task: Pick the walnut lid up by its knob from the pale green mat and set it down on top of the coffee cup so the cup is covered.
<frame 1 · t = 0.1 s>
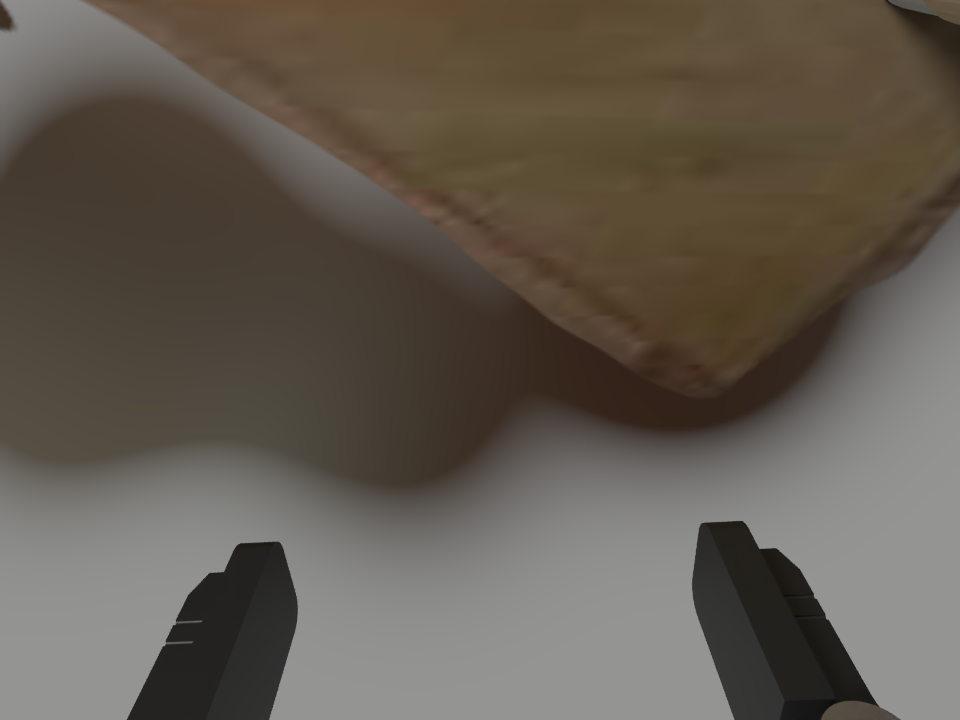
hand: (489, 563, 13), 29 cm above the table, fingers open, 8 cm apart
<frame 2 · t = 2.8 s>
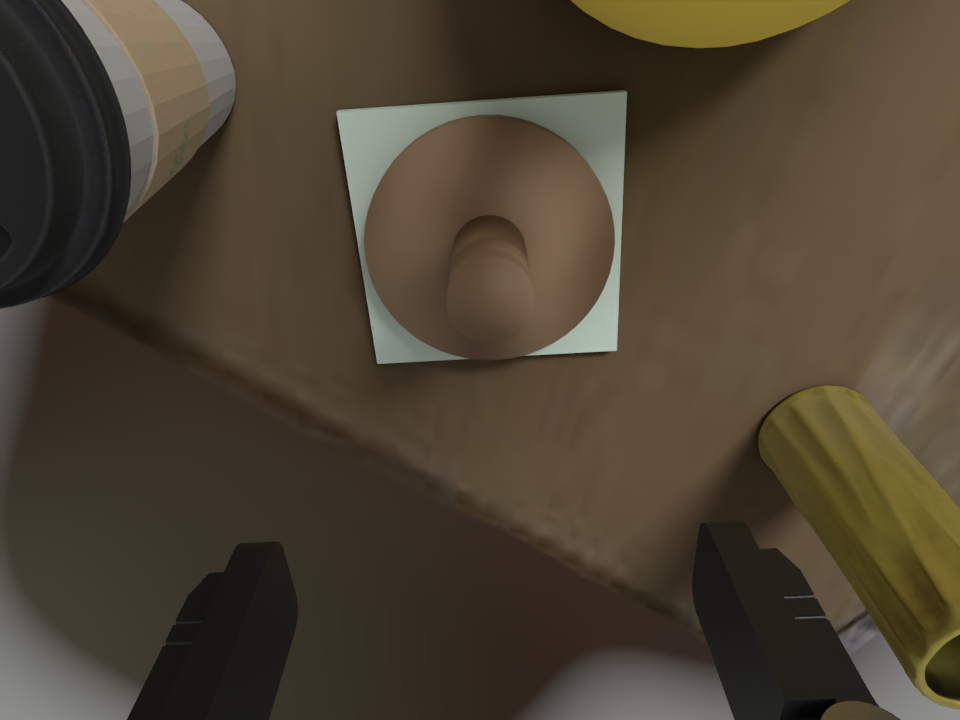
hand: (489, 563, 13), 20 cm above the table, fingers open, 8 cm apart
lid: (489, 242, 30), point 1 cm above the table, touching mat
mat: (489, 237, 30), on the table
coffee cup: (164, 69, 27), on the table
vase: (812, 429, 36), on the table
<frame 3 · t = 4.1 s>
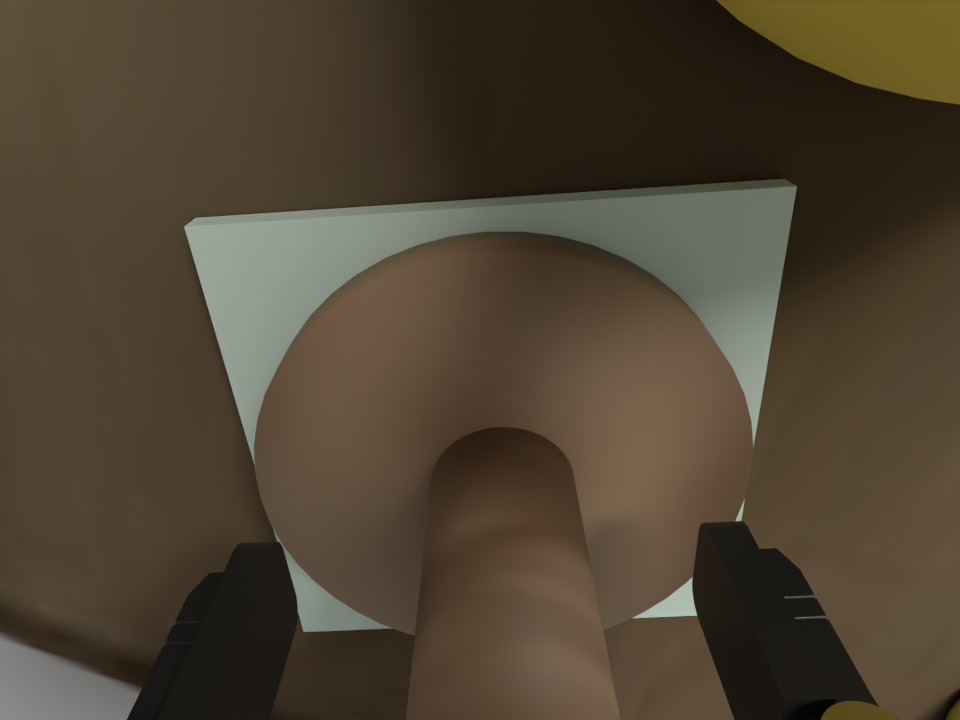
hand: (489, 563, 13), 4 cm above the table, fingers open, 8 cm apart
lid: (501, 453, 16), point 1 cm above the table, touching mat
mat: (500, 438, 16), on the table
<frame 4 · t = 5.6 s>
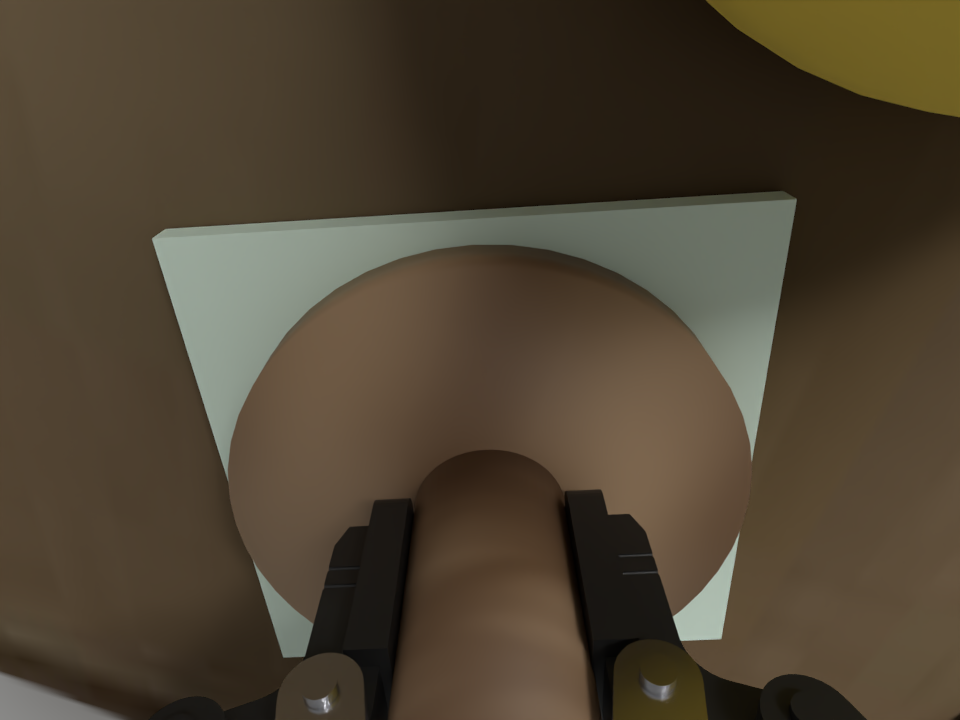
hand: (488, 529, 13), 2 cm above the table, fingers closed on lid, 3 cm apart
lid: (489, 474, 15), point 1 cm above the table, touching gripper, mat
mat: (487, 458, 15), on the table
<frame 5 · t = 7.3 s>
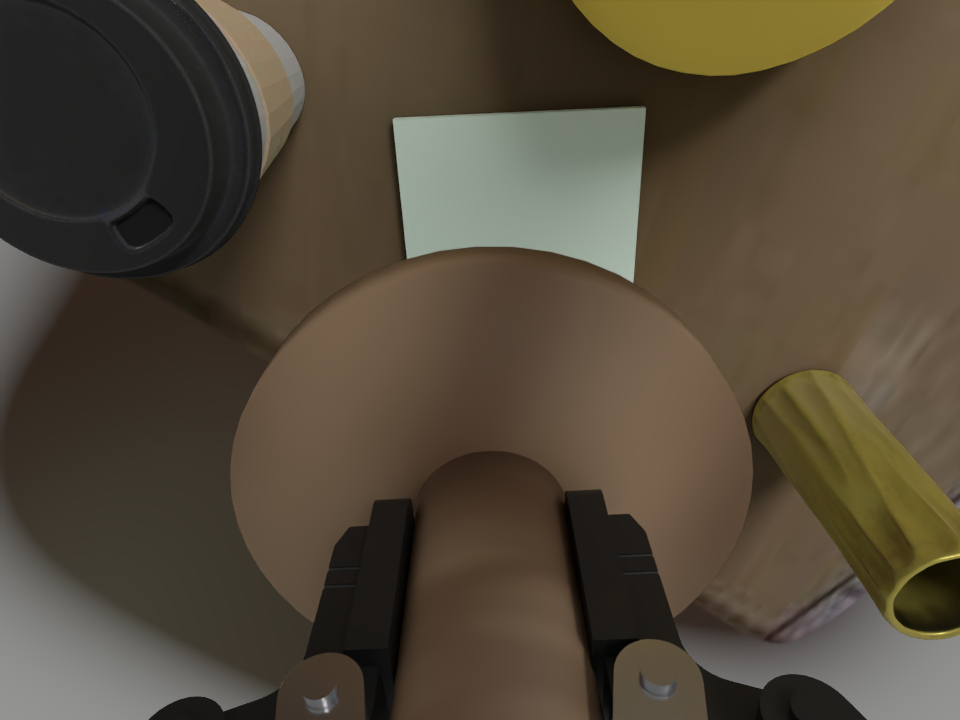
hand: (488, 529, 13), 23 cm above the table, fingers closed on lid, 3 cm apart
lid: (490, 475, 15), point 21 cm above the table, touching gripper
mat: (520, 232, 34), on the table
coffee cup: (242, 79, 31), on the table
vase: (800, 409, 40), on the table
when the fingers open (18 cm above the table, at t = 9.5 s): lid drops 1 cm, resting on coffee cup.
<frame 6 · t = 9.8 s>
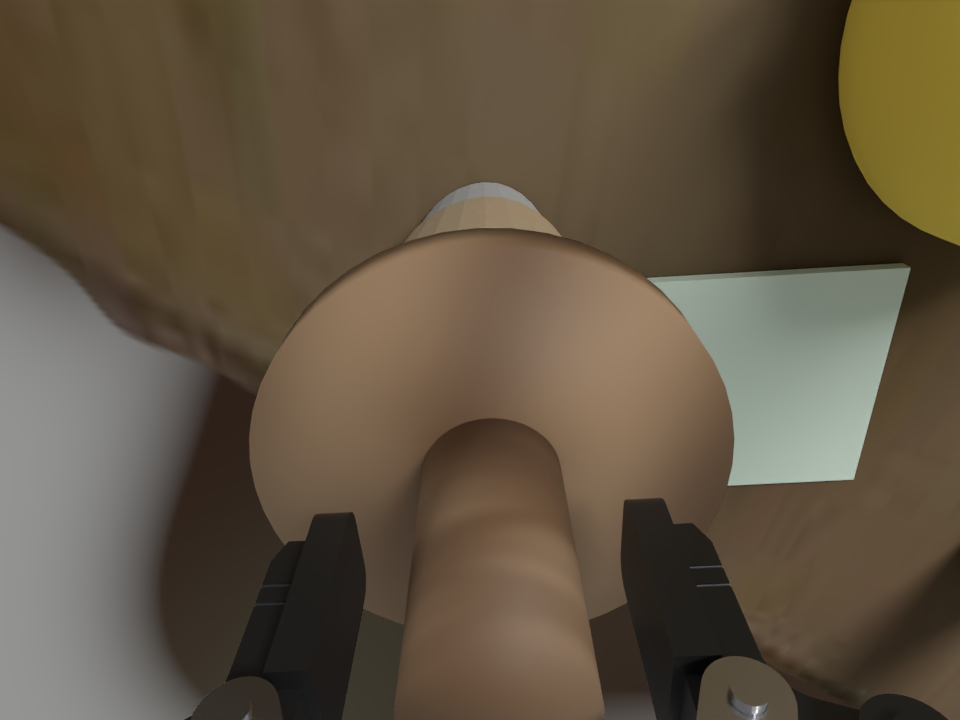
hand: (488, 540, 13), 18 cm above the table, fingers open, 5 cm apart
lid: (490, 445, 16), point 15 cm above the table, touching coffee cup
mat: (751, 383, 33), on the table
coffee cup: (483, 244, 29), on the table, touching lid
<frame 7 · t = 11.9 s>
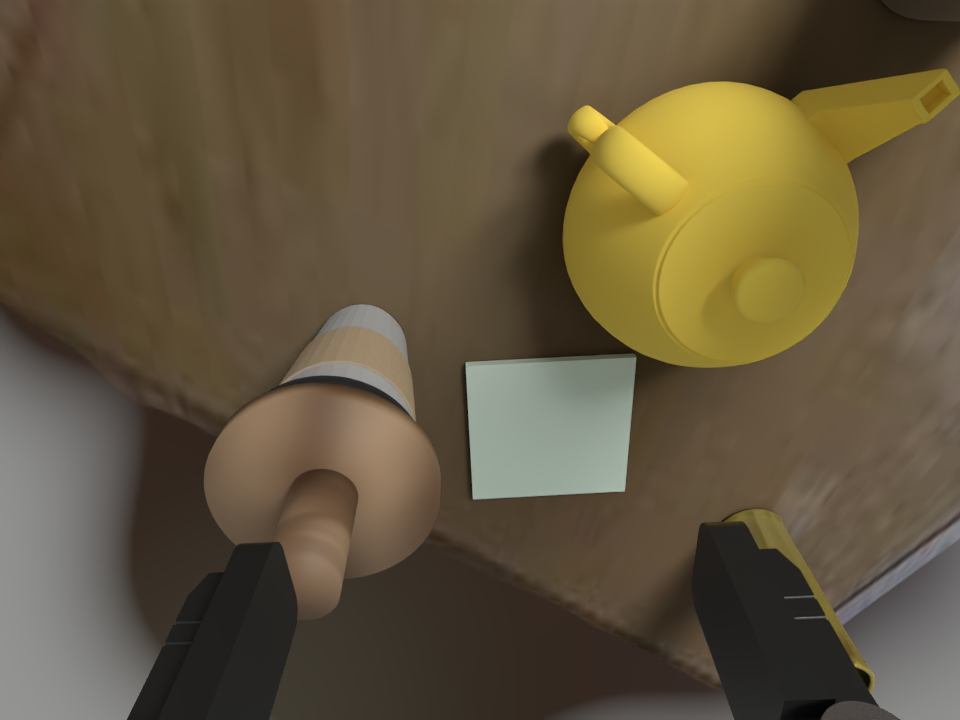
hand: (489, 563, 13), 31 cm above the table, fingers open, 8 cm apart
teapot: (693, 184, 41), on the table
lid: (328, 479, 32), point 15 cm above the table, touching coffee cup
mat: (549, 427, 49), on the table
coffee cup: (363, 340, 45), on the table, touching lid
vase: (746, 533, 55), on the table
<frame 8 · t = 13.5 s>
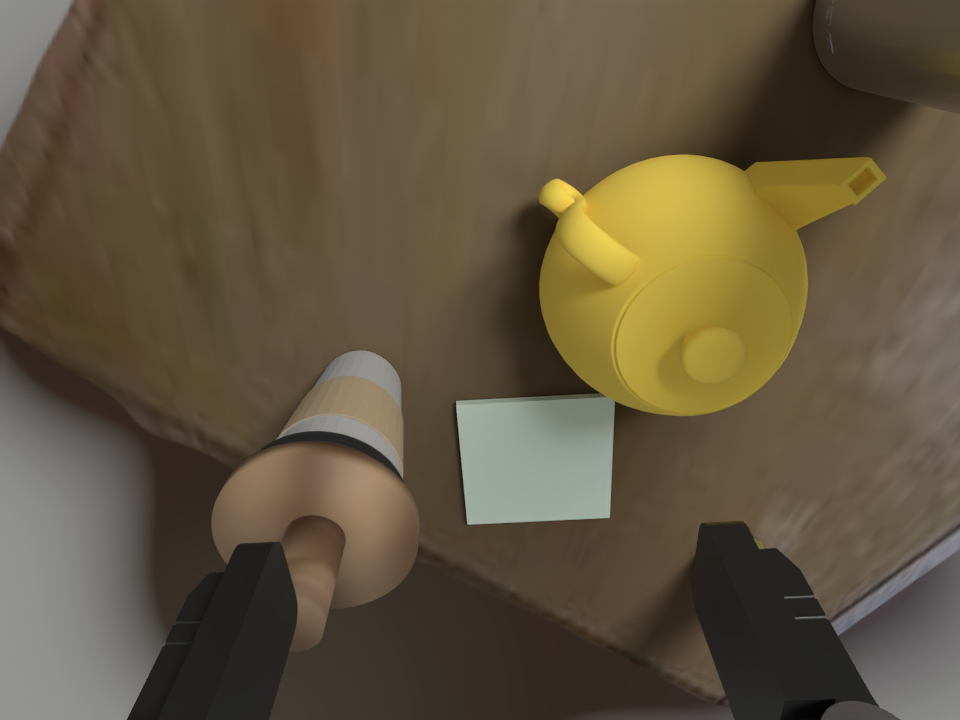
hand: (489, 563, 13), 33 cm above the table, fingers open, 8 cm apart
teapot: (662, 241, 44), on the table
lid: (320, 522, 36), point 15 cm above the table, touching coffee cup
mat: (536, 459, 53), on the table
coffee cup: (362, 381, 49), on the table, touching lid
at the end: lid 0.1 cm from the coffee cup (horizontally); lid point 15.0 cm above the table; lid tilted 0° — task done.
